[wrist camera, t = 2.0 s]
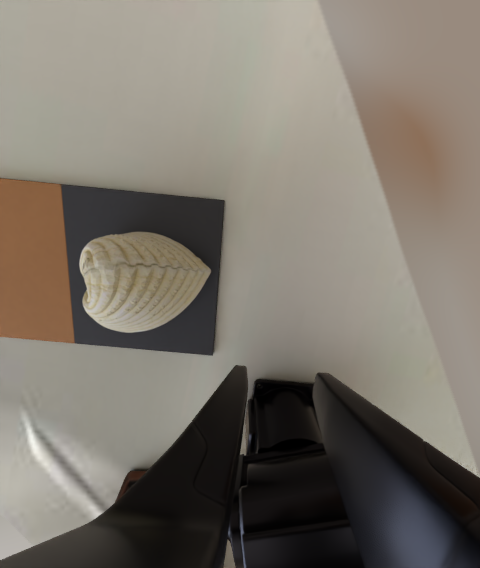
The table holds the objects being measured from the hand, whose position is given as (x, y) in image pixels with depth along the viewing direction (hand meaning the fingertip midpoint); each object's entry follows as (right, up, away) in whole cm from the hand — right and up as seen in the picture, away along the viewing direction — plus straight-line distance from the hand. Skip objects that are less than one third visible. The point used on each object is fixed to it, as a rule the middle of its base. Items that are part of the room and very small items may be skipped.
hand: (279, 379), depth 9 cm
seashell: (-9, +4, +12) cm, 16 cm away
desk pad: (-14, +5, +12) cm, 19 cm away
